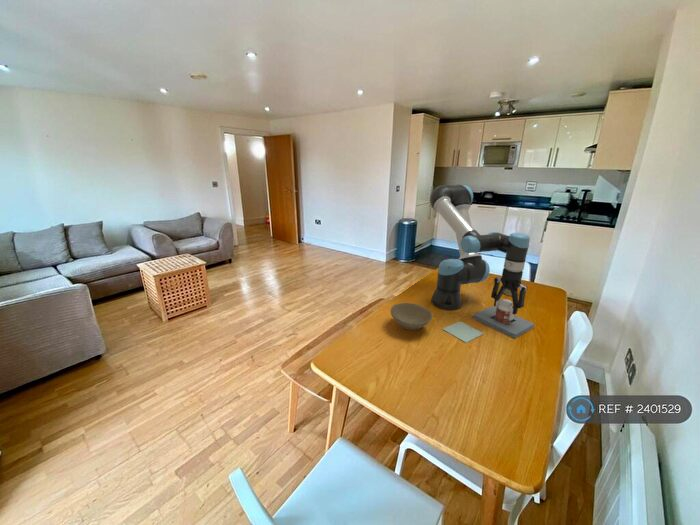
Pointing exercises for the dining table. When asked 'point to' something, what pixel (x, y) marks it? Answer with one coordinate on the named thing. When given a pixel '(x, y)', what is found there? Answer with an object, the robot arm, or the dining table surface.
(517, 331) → the socket block
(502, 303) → the pill bottle
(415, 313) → the bowl
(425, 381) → the dining table surface
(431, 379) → the dining table surface
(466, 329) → the mat
